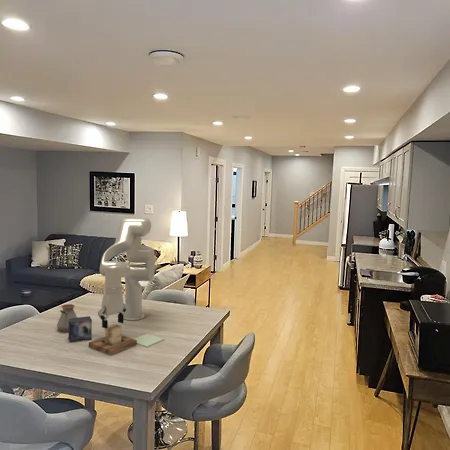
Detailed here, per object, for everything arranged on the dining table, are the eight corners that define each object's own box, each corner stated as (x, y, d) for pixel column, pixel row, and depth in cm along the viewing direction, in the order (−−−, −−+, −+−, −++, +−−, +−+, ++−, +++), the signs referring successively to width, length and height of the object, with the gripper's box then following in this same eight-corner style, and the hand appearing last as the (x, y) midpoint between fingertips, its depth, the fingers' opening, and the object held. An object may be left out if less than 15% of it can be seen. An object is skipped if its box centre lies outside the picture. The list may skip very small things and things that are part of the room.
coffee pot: (60, 325, 225) (59, 299, 224) (81, 325, 227) (81, 298, 225) (48, 340, 204) (48, 311, 203) (72, 340, 206) (72, 311, 204)
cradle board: (88, 347, 198) (88, 342, 197) (114, 337, 211) (114, 332, 211) (111, 355, 189) (111, 350, 188) (136, 345, 202) (136, 340, 202)
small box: (69, 342, 202) (69, 322, 201) (68, 338, 208) (68, 318, 207) (92, 339, 207) (92, 319, 206) (89, 335, 213) (89, 315, 212)
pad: (129, 341, 206) (129, 340, 206) (147, 334, 216) (147, 333, 216) (147, 347, 199) (147, 346, 199) (164, 340, 209) (164, 339, 209)
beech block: (104, 346, 199) (104, 326, 198) (113, 343, 204) (113, 323, 203) (112, 349, 196) (112, 329, 195) (121, 345, 201) (121, 326, 200)
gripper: (121, 286, 206) (121, 319, 208) (93, 292, 192) (93, 328, 193) (132, 288, 202) (131, 322, 203) (103, 295, 188) (103, 331, 189)
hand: (112, 325), depth 198 cm, fingers open, 9 cm apart
